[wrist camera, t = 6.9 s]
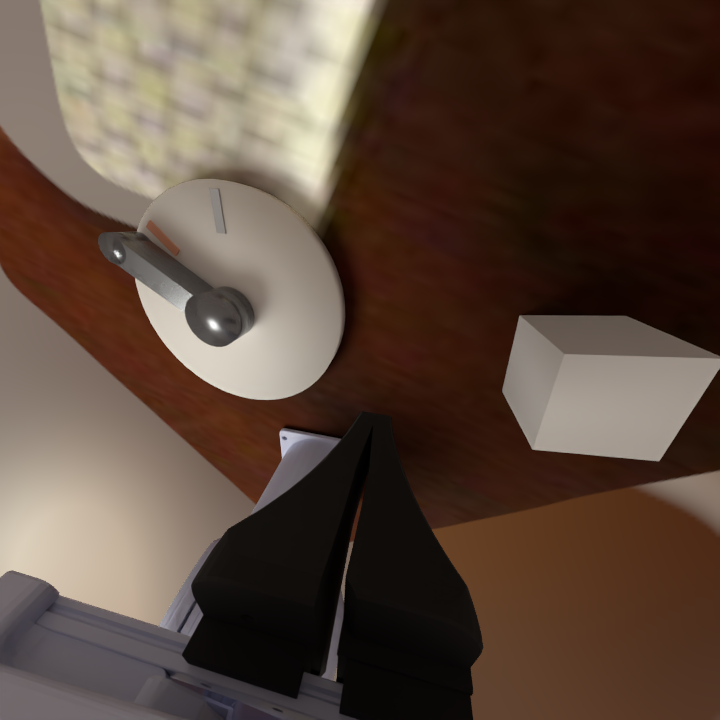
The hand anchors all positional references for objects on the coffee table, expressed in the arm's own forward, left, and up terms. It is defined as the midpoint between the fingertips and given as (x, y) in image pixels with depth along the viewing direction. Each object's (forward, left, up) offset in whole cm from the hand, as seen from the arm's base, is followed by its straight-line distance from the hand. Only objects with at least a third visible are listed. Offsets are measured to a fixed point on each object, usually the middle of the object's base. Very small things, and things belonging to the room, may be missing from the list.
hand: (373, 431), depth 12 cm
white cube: (+1, -11, -10) cm, 15 cm away
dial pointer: (+3, +14, -8) cm, 16 cm away
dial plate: (+2, +12, -9) cm, 15 cm away
